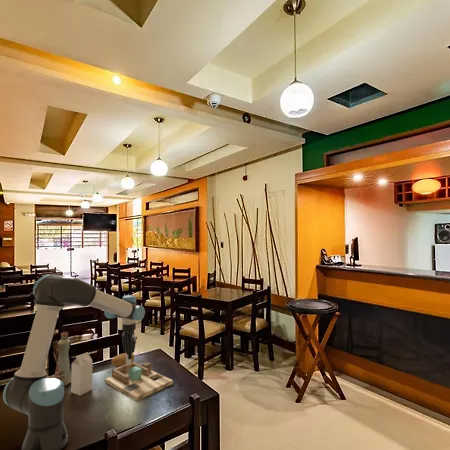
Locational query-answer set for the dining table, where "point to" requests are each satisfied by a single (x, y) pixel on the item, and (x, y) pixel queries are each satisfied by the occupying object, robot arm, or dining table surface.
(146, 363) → the walnut cube
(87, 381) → the milk carton
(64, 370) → the bottle
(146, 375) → the cubby board
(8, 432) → the dining table surface
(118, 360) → the potato
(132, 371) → the teal block
